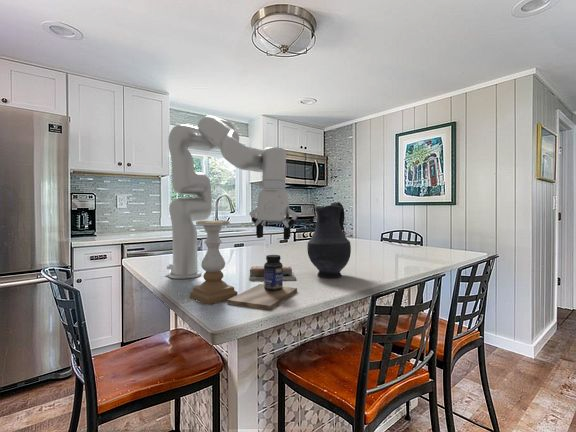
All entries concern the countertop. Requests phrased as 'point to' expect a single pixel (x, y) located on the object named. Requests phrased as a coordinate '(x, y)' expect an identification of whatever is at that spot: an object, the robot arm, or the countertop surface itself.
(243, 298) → the walnut board
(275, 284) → the pill bottle
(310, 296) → the countertop surface
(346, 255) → the pitcher
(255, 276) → the butter dish
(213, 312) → the countertop surface
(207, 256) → the candle holder
